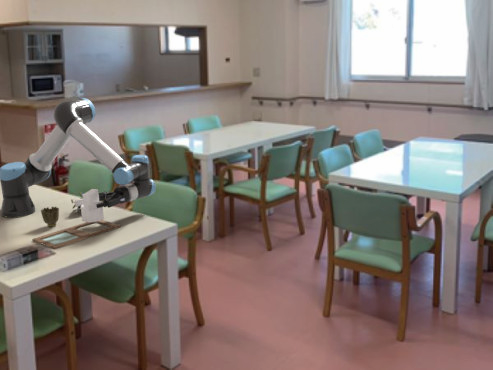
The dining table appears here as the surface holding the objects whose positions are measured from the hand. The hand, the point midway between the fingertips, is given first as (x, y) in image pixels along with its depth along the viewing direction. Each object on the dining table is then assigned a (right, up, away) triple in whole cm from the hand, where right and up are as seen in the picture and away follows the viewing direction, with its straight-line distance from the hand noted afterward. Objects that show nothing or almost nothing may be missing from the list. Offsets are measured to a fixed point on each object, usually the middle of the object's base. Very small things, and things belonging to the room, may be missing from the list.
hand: (82, 205), depth 240 cm
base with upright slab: (+3, -6, +5) cm, 9 cm away
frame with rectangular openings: (-2, -12, 0) cm, 12 cm away
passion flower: (-8, -4, +32) cm, 33 cm away
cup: (-16, -10, +11) cm, 22 cm away
